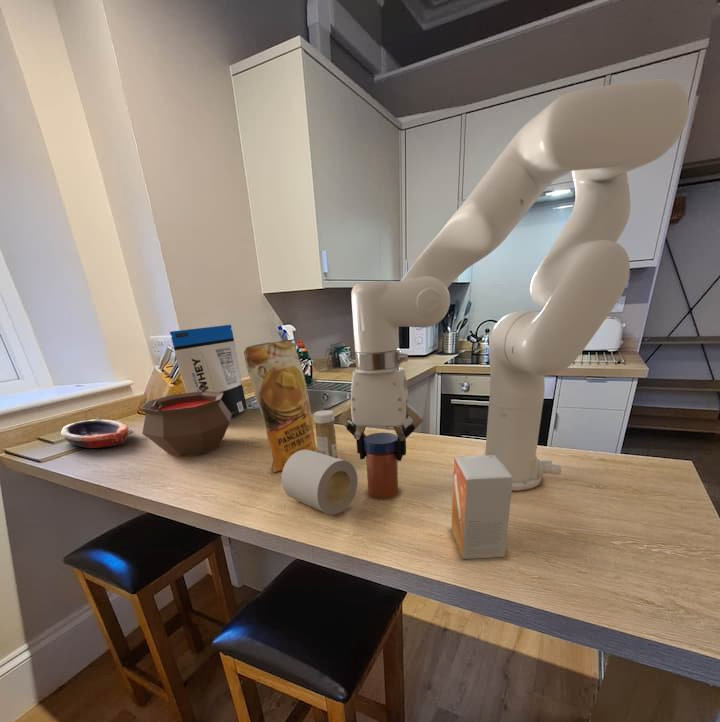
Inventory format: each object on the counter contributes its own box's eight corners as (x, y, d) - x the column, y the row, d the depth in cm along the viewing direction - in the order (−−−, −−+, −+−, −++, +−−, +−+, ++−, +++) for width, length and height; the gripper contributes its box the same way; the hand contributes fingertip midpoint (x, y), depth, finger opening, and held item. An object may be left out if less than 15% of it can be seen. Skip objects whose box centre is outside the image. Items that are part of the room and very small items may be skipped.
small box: (450, 530, 64) (453, 456, 59) (489, 528, 64) (495, 454, 58) (461, 560, 57) (466, 479, 51) (505, 558, 57) (514, 476, 51)
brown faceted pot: (213, 463, 99) (198, 399, 92) (129, 463, 103) (108, 402, 96) (252, 433, 120) (242, 379, 113) (181, 434, 124) (167, 382, 117)
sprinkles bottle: (342, 469, 90) (337, 412, 85) (325, 474, 88) (318, 416, 82) (332, 463, 94) (327, 408, 88) (316, 468, 92) (309, 412, 86)
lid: (373, 440, 78) (372, 431, 77) (403, 444, 75) (403, 434, 75) (358, 452, 73) (357, 441, 72) (390, 456, 70) (389, 445, 69)
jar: (400, 486, 80) (399, 436, 76) (395, 500, 75) (393, 447, 70) (372, 484, 82) (369, 435, 77) (364, 498, 76) (361, 446, 72)
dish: (105, 427, 138) (100, 413, 136) (145, 441, 120) (140, 425, 118) (54, 440, 127) (48, 426, 125) (90, 458, 109) (83, 441, 107)
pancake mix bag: (255, 472, 92) (231, 347, 80) (306, 446, 106) (292, 337, 94) (277, 477, 88) (255, 347, 77) (326, 449, 103) (314, 336, 91)
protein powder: (255, 409, 147) (240, 324, 135) (203, 428, 129) (179, 331, 116) (238, 407, 152) (221, 325, 139) (184, 425, 134) (160, 332, 121)
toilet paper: (285, 507, 75) (277, 459, 71) (323, 488, 82) (318, 443, 77) (320, 523, 69) (314, 471, 65) (359, 501, 75) (355, 453, 71)
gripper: (430, 356, 69) (429, 452, 76) (336, 359, 73) (344, 449, 81) (425, 363, 62) (424, 467, 70) (322, 366, 67) (332, 463, 74)
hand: (381, 456), depth 75 cm, fingers closed on lid, 6 cm apart
